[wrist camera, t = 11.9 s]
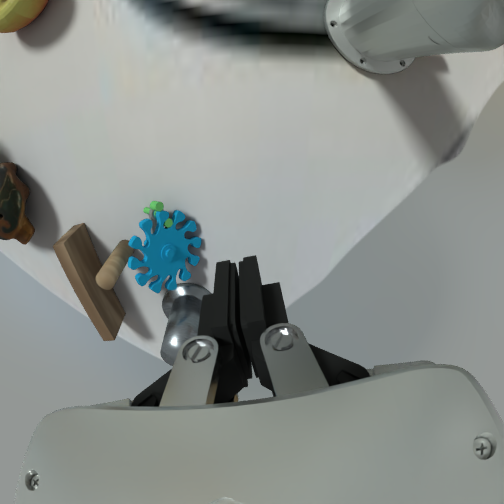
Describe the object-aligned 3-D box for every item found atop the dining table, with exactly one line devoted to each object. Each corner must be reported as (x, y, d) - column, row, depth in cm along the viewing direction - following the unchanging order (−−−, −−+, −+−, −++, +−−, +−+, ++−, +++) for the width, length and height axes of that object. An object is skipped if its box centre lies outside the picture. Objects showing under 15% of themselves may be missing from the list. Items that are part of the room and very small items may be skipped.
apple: (52, -34, 15) (23, -49, 8) (68, 0, 19) (35, -14, 12) (5, 11, 16) (-28, 5, 9) (18, 47, 21) (-19, 45, 14)
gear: (207, 279, 38) (140, 307, 31) (181, 266, 41) (120, 289, 35) (201, 194, 34) (124, 211, 27) (174, 191, 37) (106, 205, 31)
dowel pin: (130, 238, 36) (109, 270, 29) (136, 253, 37) (117, 288, 30) (115, 241, 36) (92, 273, 29) (121, 257, 37) (100, 291, 30)
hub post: (208, 278, 40) (202, 329, 31) (222, 321, 43) (220, 372, 35) (155, 287, 40) (138, 336, 31) (173, 327, 44) (163, 377, 35)
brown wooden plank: (84, 222, 34) (63, 243, 29) (125, 313, 42) (114, 340, 37) (73, 225, 34) (52, 246, 29) (115, 314, 42) (104, 340, 37)
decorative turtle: (5, 133, 27) (-29, 146, 20) (59, 206, 34) (33, 231, 27) (-21, 177, 28) (-51, 196, 22) (29, 243, 36) (5, 270, 29)
